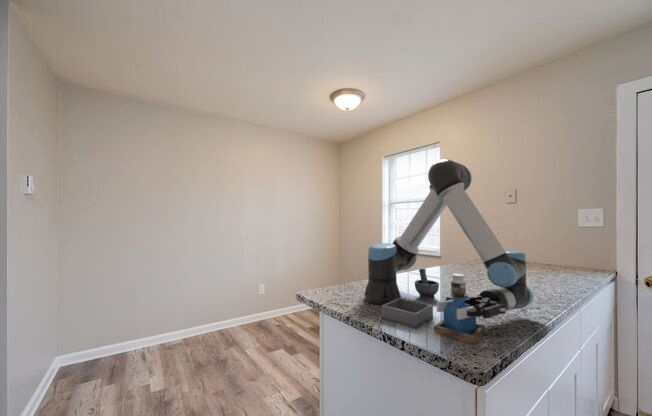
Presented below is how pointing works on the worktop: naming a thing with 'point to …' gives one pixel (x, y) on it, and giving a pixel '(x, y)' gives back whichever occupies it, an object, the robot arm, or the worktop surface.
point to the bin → (407, 312)
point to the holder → (460, 333)
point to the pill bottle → (458, 284)
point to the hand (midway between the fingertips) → (447, 310)
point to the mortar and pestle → (426, 287)
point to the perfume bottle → (451, 315)
